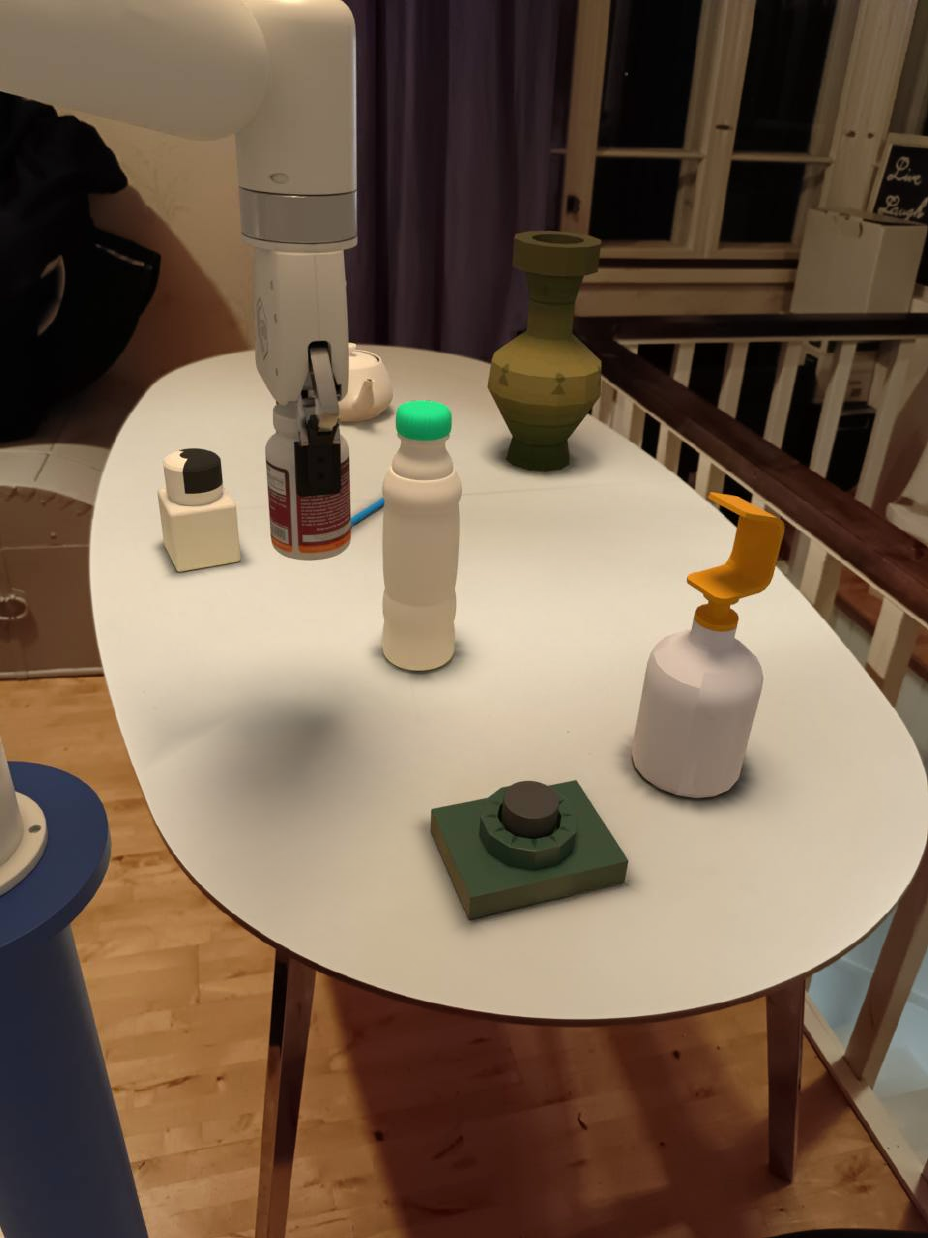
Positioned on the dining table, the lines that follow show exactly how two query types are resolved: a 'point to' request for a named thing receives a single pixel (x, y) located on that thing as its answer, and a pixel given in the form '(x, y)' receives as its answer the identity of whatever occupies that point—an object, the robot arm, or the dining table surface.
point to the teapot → (365, 387)
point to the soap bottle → (708, 671)
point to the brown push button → (530, 809)
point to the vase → (547, 353)
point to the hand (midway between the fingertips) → (308, 473)
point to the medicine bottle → (197, 511)
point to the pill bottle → (303, 498)
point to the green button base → (525, 853)
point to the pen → (367, 511)
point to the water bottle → (420, 540)
